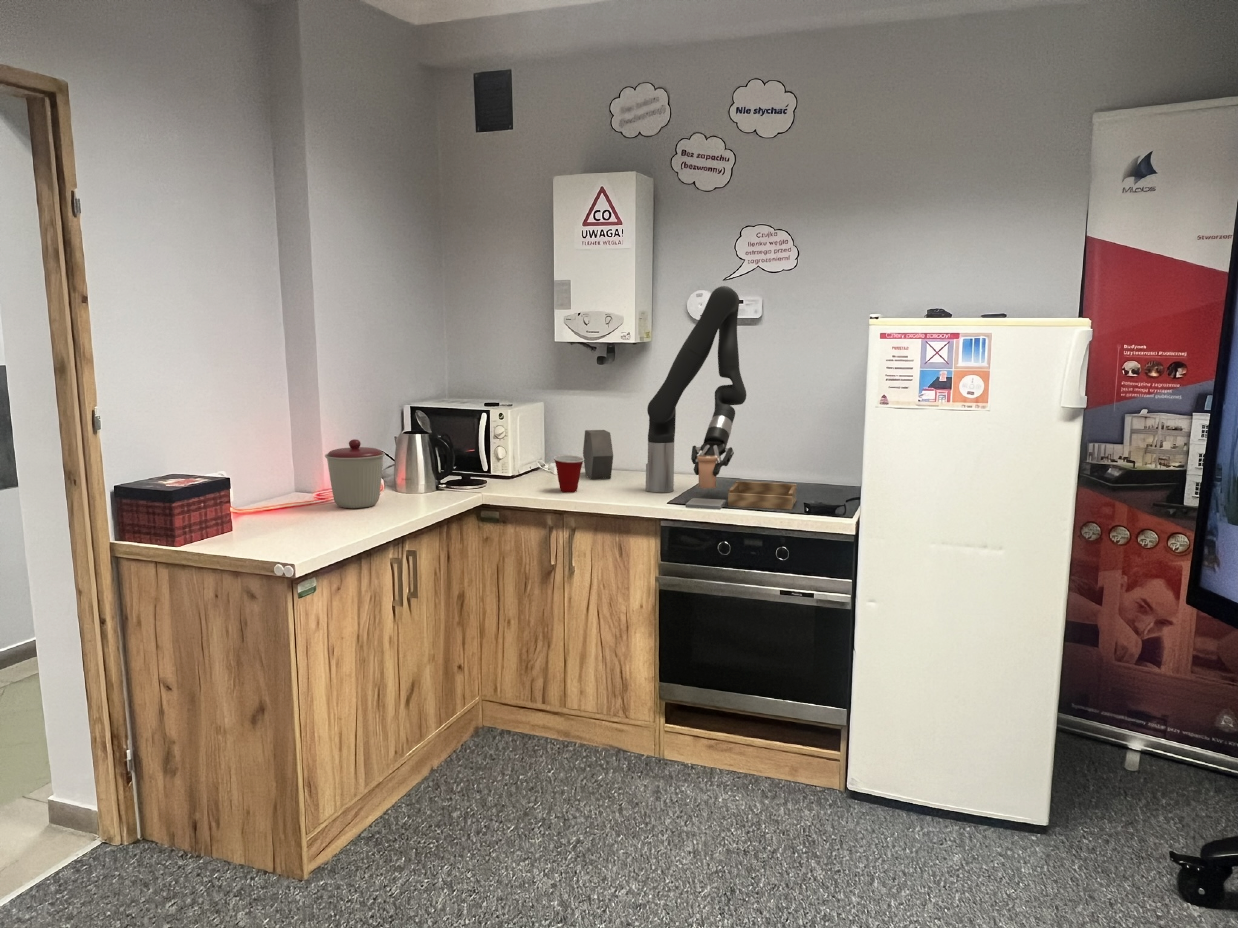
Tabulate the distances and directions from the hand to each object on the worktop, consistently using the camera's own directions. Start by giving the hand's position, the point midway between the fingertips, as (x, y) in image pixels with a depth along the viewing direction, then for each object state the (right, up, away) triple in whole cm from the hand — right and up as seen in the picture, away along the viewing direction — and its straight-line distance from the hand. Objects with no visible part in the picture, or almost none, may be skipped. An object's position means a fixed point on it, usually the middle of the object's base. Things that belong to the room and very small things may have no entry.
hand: (705, 474), depth 277 cm
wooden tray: (+19, -10, +7) cm, 23 cm away
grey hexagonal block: (-36, -2, +58) cm, 68 cm away
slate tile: (0, -10, +3) cm, 10 cm away
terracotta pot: (+1, -4, +2) cm, 5 cm away
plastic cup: (-45, -7, +26) cm, 52 cm away
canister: (-110, -10, -1) cm, 111 cm away
